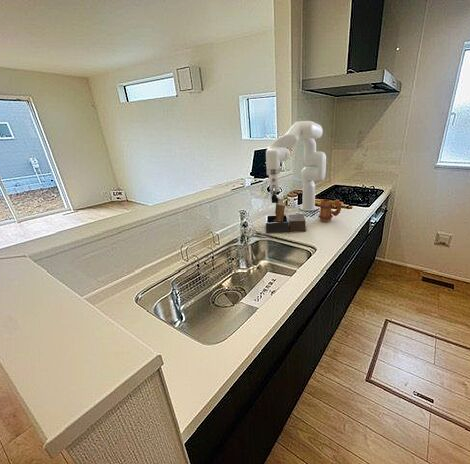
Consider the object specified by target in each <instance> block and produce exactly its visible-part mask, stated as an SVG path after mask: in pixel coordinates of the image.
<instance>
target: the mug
mask: <svg viewBox="0 0 470 464" xmlns="http://www.w3.org/2000/svg"><path fill="white" fill-rule="evenodd" d="M334 206H335V207H336V209H335V210H332V208H333V207H334ZM342 206H343V205H342V203H341V201H340V200H339V199H337V198H336V199H335V200H331V199H321V200H320V204H319V205H318V207H319V208H320V210H319V214H318V215H317V216H318V218H319V221H321V222H322V223H328V222H331V221H332V220H333V219H332V218H333V217H337V216H338V215H339V214H340V213H341V211H342Z"/></svg>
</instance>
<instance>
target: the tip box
mask: <svg viewBox="0 0 470 464" xmlns="http://www.w3.org/2000/svg"><path fill="white" fill-rule="evenodd" d="M285 209H286V204H285V199H283V198H281V199H280V198H279V197H278V196H277V203H275V210H274V215H276V220H275V221H280V222H283V218H284V215H285Z"/></svg>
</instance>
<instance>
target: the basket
mask: <svg viewBox="0 0 470 464" xmlns="http://www.w3.org/2000/svg"><path fill="white" fill-rule="evenodd" d="M273 219H276V214H272V215H271V214H269V215H265V232H266V234H281V233H282V234H285V233H286V234H287V233H289V232H290V230H289V220H288V214H284V218H283V222H273Z"/></svg>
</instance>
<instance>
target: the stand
mask: <svg viewBox="0 0 470 464" xmlns="http://www.w3.org/2000/svg"><path fill="white" fill-rule="evenodd" d="M287 216H288V222H289V232H290V233H296V232H297V233H298V232H299V233H300V232H303V233H304V232H306V221H307V220H306V218H305V216H304V214H303V213H300V214H297V213H296V214H295V213H294V214H287Z"/></svg>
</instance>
